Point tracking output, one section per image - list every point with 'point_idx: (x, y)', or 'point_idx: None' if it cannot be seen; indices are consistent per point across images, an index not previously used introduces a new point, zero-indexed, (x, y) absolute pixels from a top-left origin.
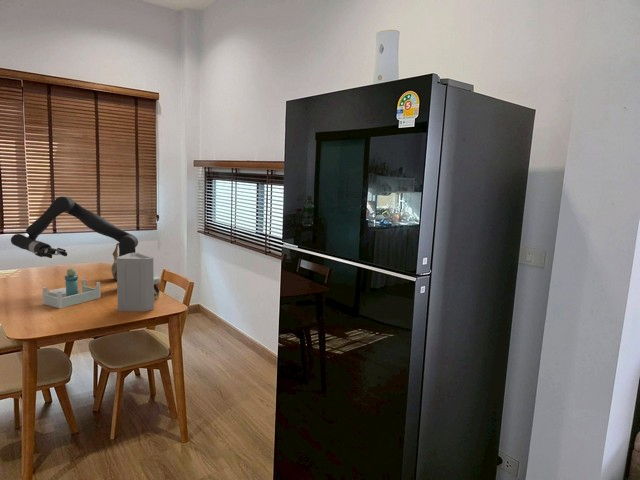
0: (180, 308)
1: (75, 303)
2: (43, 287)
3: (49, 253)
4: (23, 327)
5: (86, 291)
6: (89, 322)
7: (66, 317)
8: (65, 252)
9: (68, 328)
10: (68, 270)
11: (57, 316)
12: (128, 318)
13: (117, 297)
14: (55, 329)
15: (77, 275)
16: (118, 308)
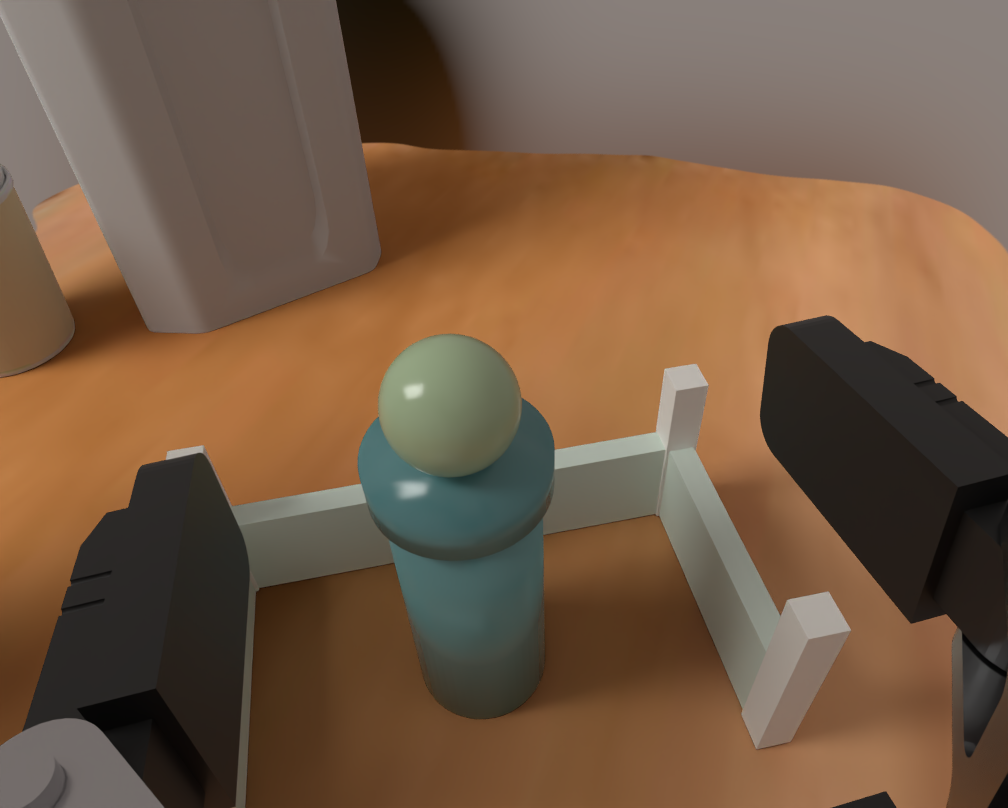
0: None
1: None
2: (837, 631)
3: (876, 396)
4: (947, 288)
5: None
6: (603, 202)
7: (684, 305)
8: (176, 480)
9: (719, 189)
10: (498, 357)
11: (731, 344)
12: (427, 168)
13: (359, 185)
14: (779, 203)
15: (373, 433)
16: (376, 246)
